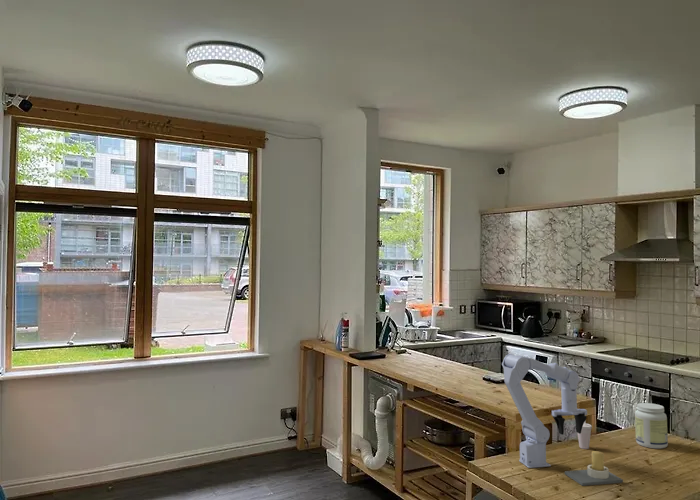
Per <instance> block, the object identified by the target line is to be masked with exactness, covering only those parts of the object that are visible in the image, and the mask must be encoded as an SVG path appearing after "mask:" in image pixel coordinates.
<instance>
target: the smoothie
mask: <svg viewBox="0 0 700 500" xmlns="http://www.w3.org/2000/svg"><path fill="white" fill-rule="evenodd" d="M586 421H587V419H586V420H585V422H584V424H583V427H582V430H581V433H580V434H579V433H577V439H578V446H579V448H580V449H584V450H588V449H590V443H591V442H590V441H591V433H592V432H591V431H592V429H593V428H592V425H591V424H589V423H586Z"/></svg>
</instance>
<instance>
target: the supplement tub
mask: <svg viewBox="0 0 700 500" xmlns="http://www.w3.org/2000/svg"><path fill="white" fill-rule="evenodd" d="M634 425H635V426H634V428H635V429H634V430H635V441H636V442H635V443H636V444H638V445H639V446H642V447H644V448H648V449H649V448H650V449H665V448H667V447H668V445H669V441H668V440H669V439H668V438H669V437H668V417H667V414H666V413H665V407H664V406H663V405H660V404H658V403H657V404H656V403H651V402H640V403H637V404H636V410H635V412H634Z"/></svg>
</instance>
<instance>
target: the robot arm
mask: <svg viewBox="0 0 700 500" xmlns="http://www.w3.org/2000/svg"><path fill="white" fill-rule="evenodd" d="M501 366H502V368H503V377H504V378H503V380H504V384H505V386H506V388H507V390H508V393H509V395H510V396H511V398H512V400H513V402H514V405H515V407H516V408H517V411H518V413H519V414H520V418H521V419H522V420H521V422H520V424H521V427H522V428H521V430H522V433H523V435H524V436H525V439H526V440H523V441H521V442H520V443H519V460H518V461H519V462H520V463H521V464H522V465H524V466H526V468H528V469H530V468H531V469H533V468H545V467H547V468H548V467H551V466H552V465H551V464H550V463H549V462H547V442H548V441H549V439H550V430H549V429H548V428H547V427H546V426H545V425H544V423H543V422H542V421H541V420H540V418H538V417H537V415H536V413H535V411H534V408H533V407H532V404H531V402H530V401H529V398H528V396H527V394H526V393H525V390H524V388H523V385H522V384H521V381H523V379H524V378H525V376H526V374H528V372H529V371H531V370H533V369H534V370H537V371H541V372H543V373H545V376H546V377H547V378H550V379H553V380H555V381H558V382H560V384H561V385H560V388H561V389H560V390H561V391H560V392H561V409H559V408H558V409H554V410H551V416H552V418H553V420H554V422H555V424H556V426H557V429H558V434H560V435H564V433H565V428H564V425H565V421H566V419H565V418H564V417H563V416H566V417H567V416H573V417H574V419H575V420H574V421H575V430H576V433H577V434H578V433H579V434H580V433H581V430H582V427H583V424H584V422H585V420H586V421H587V415H588V410H587V409H585V408H578V402H577V401H578V398H577V397H578V396H577V393H578V392H577V391H578V390H577V389H578V384H579V382H580V376H579V374H578V372H576V371H575V370H572V369H569V368H568V367H566V366H561V365H559V363H557V362H551V363H548V364H546V363H544V362H541V361H539V360H537V359H535V358H533V357H528V356H523V355H517V354H516V355H515V354H513V353H508V354H506V355H505V356H504V358H503V360H502V362H501Z"/></svg>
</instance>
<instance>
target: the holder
mask: <svg viewBox="0 0 700 500" xmlns="http://www.w3.org/2000/svg"><path fill="white" fill-rule="evenodd" d="M586 467H587V469H579V470H566V471H564V475H566V476H567V477H568V478H570V479H571V480H573V481H574V482H576V483H577V484H579V485H580V486H582V487H586V486H595V485H608V484H609V485H610V484H622V482H623V483H624V479H622V478H621V477H619V476H617V475H616V474H614V473H612V472H610V470H609V468H608V467H607V466H605V465H604V471H596V470H593V469H592V464H588V465H587V466H586Z"/></svg>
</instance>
